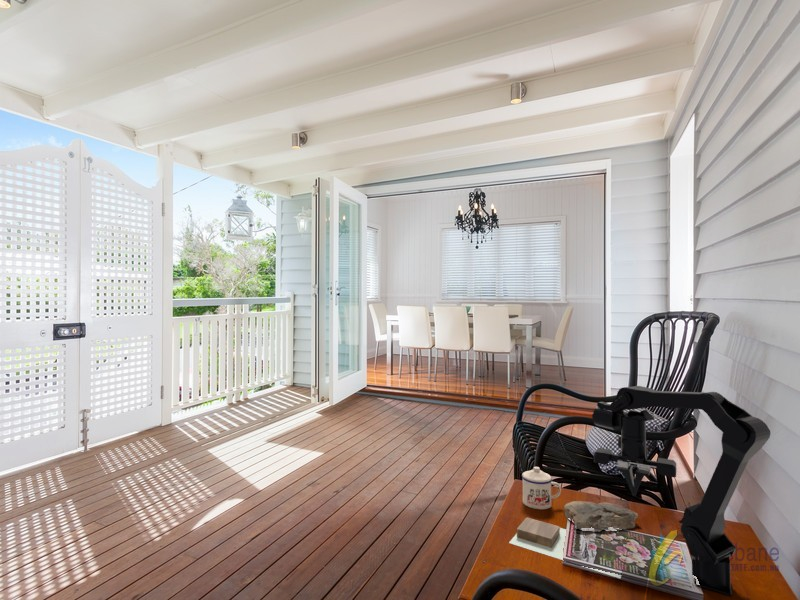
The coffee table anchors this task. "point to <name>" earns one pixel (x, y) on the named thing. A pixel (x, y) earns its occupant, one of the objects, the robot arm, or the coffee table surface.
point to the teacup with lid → (538, 489)
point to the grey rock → (600, 515)
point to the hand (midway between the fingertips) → (634, 494)
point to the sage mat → (551, 549)
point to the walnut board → (538, 532)
